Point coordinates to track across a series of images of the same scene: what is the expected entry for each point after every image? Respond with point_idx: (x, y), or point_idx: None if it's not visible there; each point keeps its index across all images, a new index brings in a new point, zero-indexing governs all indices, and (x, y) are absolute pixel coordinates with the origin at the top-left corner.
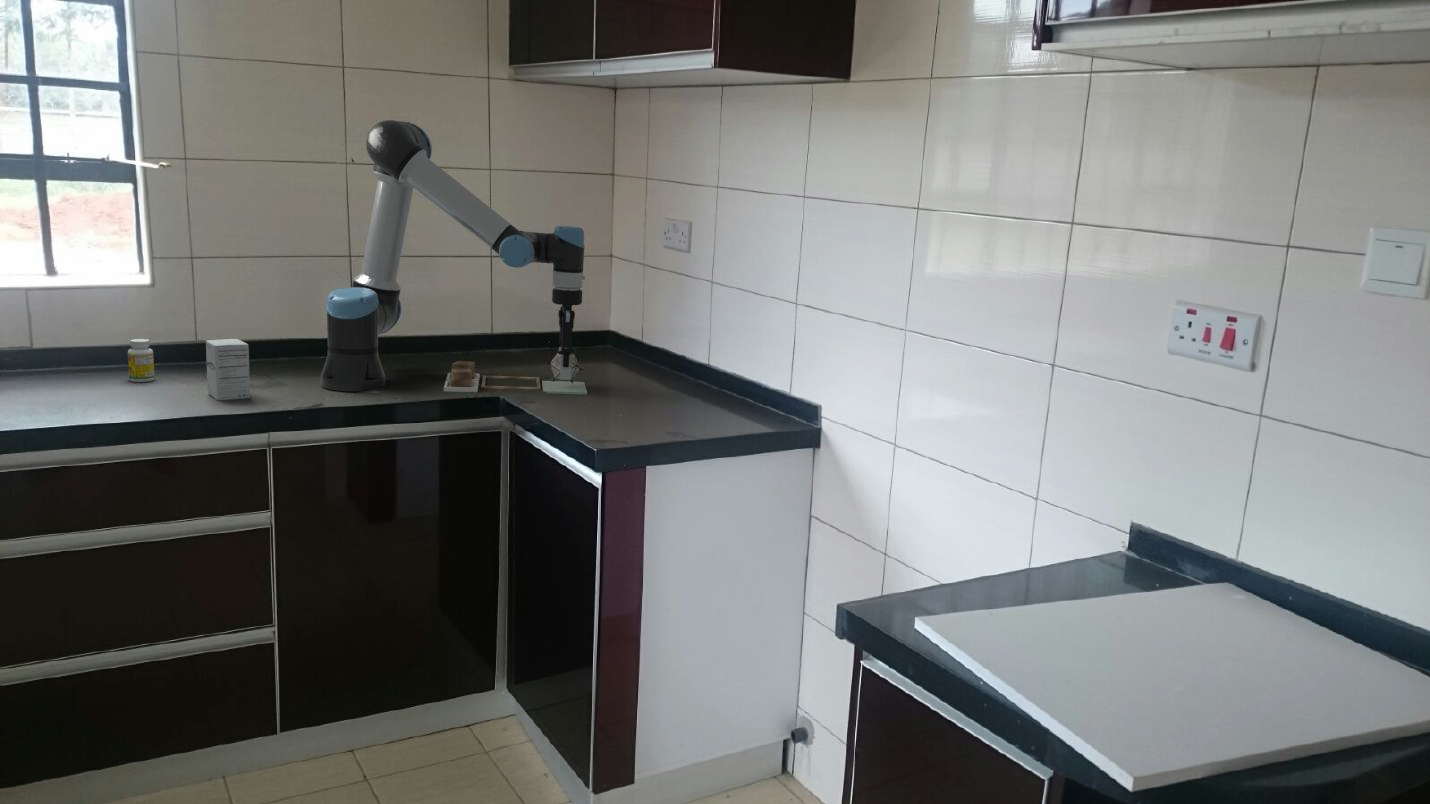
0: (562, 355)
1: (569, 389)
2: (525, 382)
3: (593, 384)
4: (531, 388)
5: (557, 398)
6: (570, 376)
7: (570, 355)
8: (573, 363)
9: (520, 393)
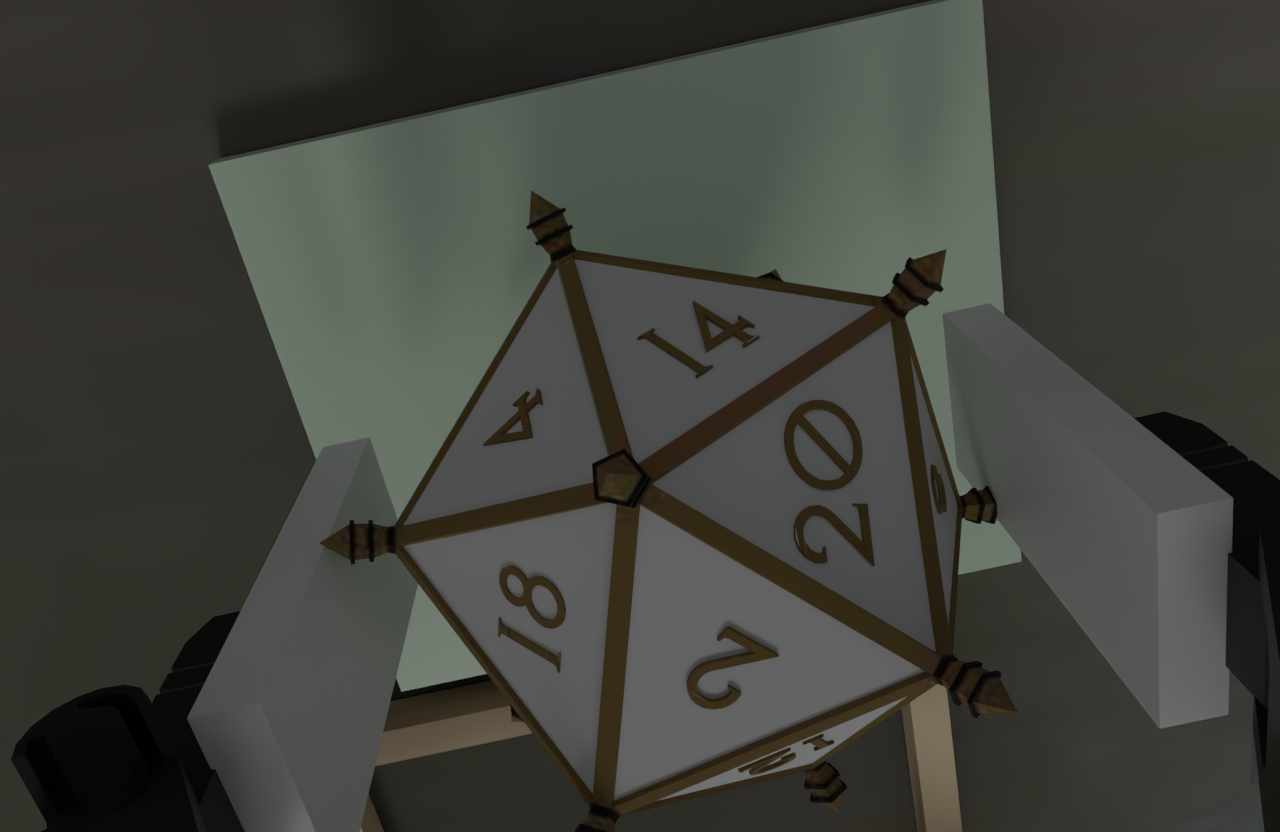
0: (1212, 662)
1: (836, 281)
2: (444, 823)
3: (152, 5)
4: (946, 698)
5: (1250, 344)
6: (1014, 323)
7: (1214, 508)
8: (909, 382)
9: (1038, 747)
